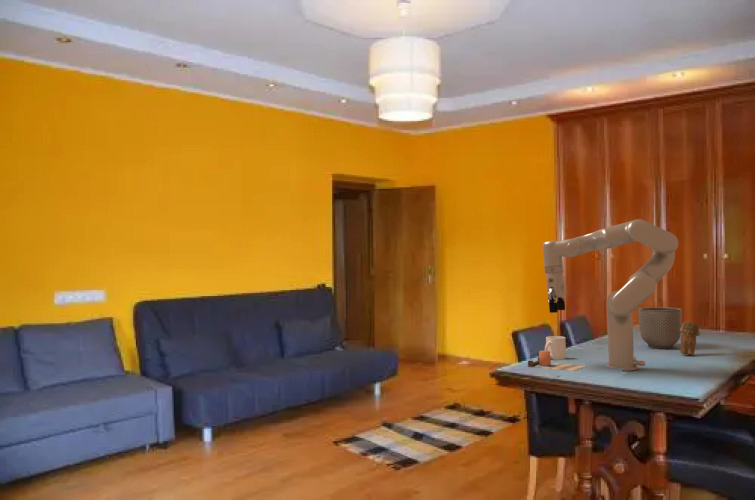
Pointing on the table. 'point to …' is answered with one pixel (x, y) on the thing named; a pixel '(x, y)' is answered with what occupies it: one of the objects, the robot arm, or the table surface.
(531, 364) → the shelf board
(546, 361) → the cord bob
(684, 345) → the figurine
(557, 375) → the table surface
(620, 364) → the robot arm
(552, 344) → the mug
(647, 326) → the planter
